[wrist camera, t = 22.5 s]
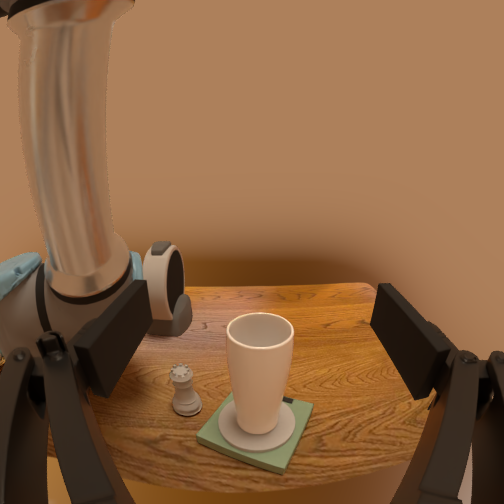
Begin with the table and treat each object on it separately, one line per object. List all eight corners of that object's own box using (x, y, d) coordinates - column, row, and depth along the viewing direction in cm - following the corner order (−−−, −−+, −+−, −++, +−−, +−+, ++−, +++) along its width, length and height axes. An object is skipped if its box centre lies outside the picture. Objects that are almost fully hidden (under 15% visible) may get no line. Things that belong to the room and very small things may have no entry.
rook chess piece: (168, 403, 36) (158, 366, 33) (192, 392, 39) (185, 354, 36) (183, 421, 32) (173, 384, 30) (208, 409, 35) (203, 371, 33)
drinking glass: (245, 448, 26) (243, 357, 22) (222, 411, 32) (215, 319, 28) (293, 428, 29) (309, 336, 25) (267, 397, 35) (272, 306, 30)
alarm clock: (184, 342, 52) (174, 255, 47) (138, 338, 52) (122, 254, 46) (197, 304, 67) (192, 233, 62) (159, 303, 67) (151, 233, 62)
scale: (197, 442, 29) (194, 431, 28) (239, 390, 40) (238, 378, 39) (283, 475, 24) (285, 466, 23) (312, 412, 35) (314, 400, 34)
